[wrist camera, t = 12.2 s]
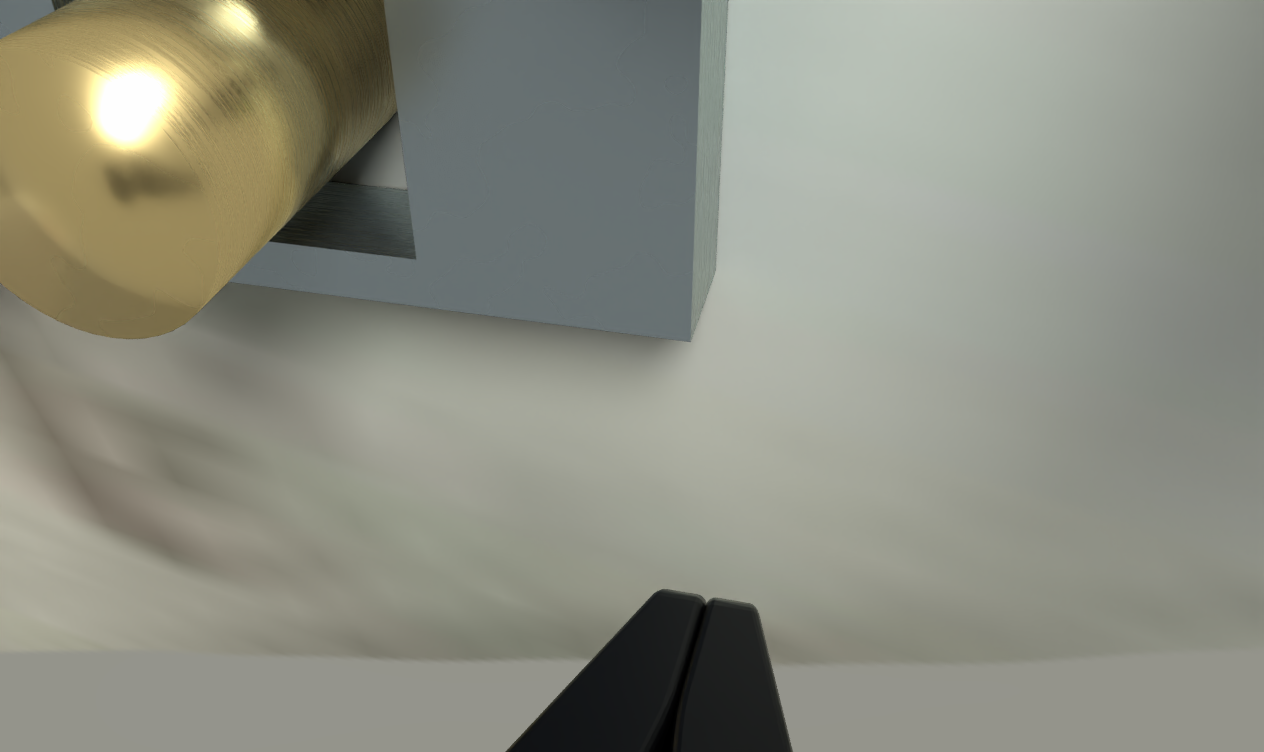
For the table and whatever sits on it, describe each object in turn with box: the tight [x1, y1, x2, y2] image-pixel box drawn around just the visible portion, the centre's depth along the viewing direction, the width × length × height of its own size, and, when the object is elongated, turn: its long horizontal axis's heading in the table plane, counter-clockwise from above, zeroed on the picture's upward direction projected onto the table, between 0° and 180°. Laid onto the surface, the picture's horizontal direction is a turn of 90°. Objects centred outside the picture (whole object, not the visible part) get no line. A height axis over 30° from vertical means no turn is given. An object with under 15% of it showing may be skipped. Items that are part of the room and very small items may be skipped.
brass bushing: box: [0, 0, 397, 339], centre depth 19 cm, size 4×4×7 cm
